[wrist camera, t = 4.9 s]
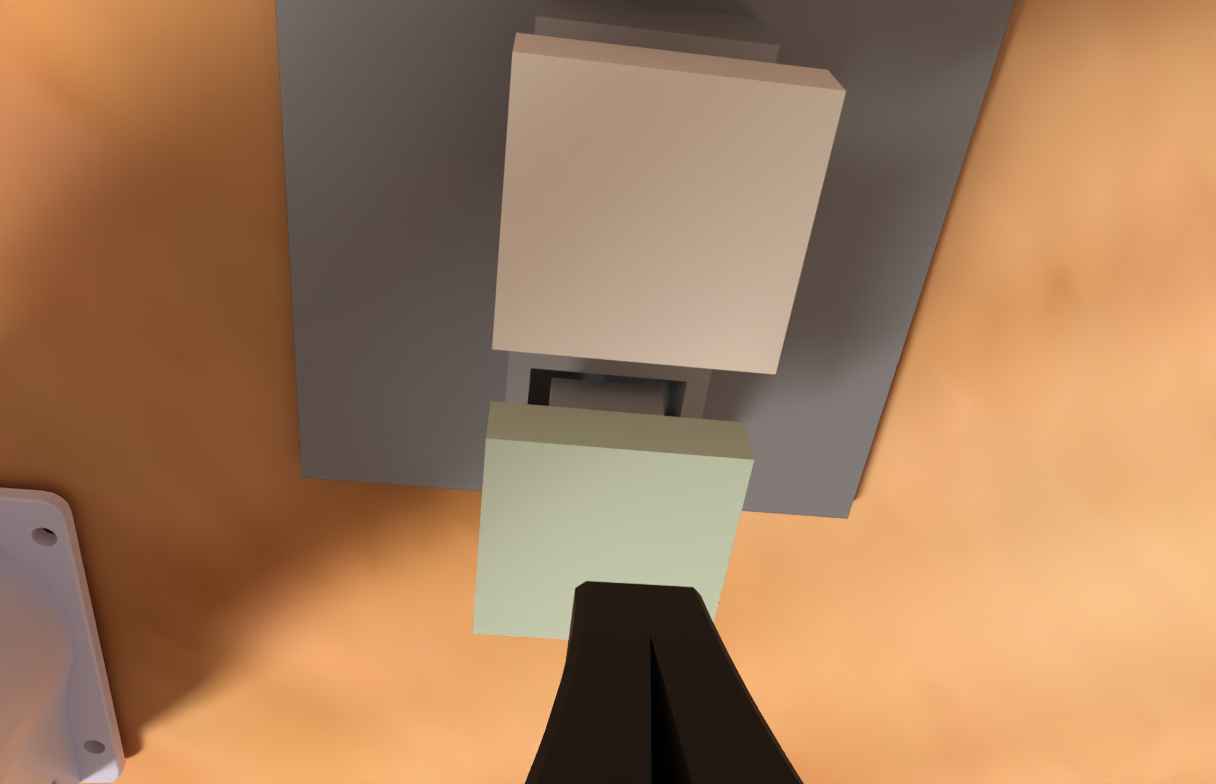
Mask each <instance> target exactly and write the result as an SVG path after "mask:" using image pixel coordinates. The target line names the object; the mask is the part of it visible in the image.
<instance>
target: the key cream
mask: <svg viewBox="0 0 1216 784" xmlns="http://www.w3.org/2000/svg"><path fill="white" fill-rule="evenodd" d="M845 94H846V90H845V89H844V88H843V87H842V86H841V84H840V83H839V82H838V81H837V80H836V79H835V78H834V76H833V75H832V74H831V73H830V72H829V71H828V70H826V69H818V68H809V67H801V66H793V65H784V64H776V63H767V62H759V61H751V60H742V59H734V58H725V57H717V56H709V55H700V54H692V53H684V52H675V51H667V50H658V49H650V48H642V47H633V46H625V45H617V44H608V43H600V42H591V41H583V40H575V39H566V38H558V37H549V36H541V35H533V34H524V33H516V37H515V42H514V47H513V51H512V66H511V80H510V95H509V109H508V124H507V139H506V153H505V168H504V182H503V197H502V212H501V226H500V241H499V255H498V270H497V284H496V299H495V314H494V328H493V343H492V349H494V350H505V351H516V352H527V353H539V354H550V355H561V356H572V357H584V358H595V359H606V360H617V361H629V362H640V363H651V364H662V365H674V366H685V367H696V368H707V369H719V370H730V371H741V372H752V373H764V374H775V375H776V371H777V367H778V363H779V359H780V355H781V351H782V347H783V343H784V339H785V335H786V331H787V327H788V322H789V318H790V314H791V310H792V306H793V302H794V298H795V294H796V290H797V286H798V282H799V278H800V274H801V270H802V266H803V262H804V258H805V254H806V250H807V246H808V242H809V238H810V234H811V230H812V226H813V222H814V218H815V214H816V210H817V206H818V202H819V198H820V194H821V190H822V186H823V182H824V178H825V174H826V170H827V166H828V162H829V158H830V154H831V150H832V146H833V142H834V138H835V134H836V130H837V126H838V122H839V118H840V114H841V110H842V106H843V102H844V98H845Z"/></svg>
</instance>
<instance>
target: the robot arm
mask: <svg viewBox="0 0 1216 784" xmlns="http://www.w3.org/2000/svg"><path fill="white" fill-rule="evenodd" d="M42 528H46V529H49V530H51V531H52V532H54V533H55V534H51V533H48V532H46V531H45V530H43V529H42ZM124 767H125V757H124V753H123V748H122V743H121V739H120V734H119V729H118V725H117V720H116V715H115V711H114V706H113V701H112V697H111V692H110V688H109V683H108V678H107V674H106V669H105V664H104V660H103V655H102V650H101V646H100V641H99V636H98V632H97V627H96V622H95V618H94V613H93V608H92V604H91V599H90V594H89V590H88V585H87V581H86V576H85V571H84V567H83V562H82V557H81V553H80V548H79V543H78V539H77V534H76V529H75V525H74V520H73V515H72V511H71V509H70V506H69V504H68V503H67V502H66V501H65V500H64V499H63V498H62V497H60V496H58V495H56V494H54V493H52V492H47V491H41V490H27V489H13V488H0V784H79V782H91V783H110V782H113V781H115V780H117V779H118V778H119V777H120V776H121V774H122V772H123V769H124ZM525 784H804V783H803V782H802V780H801V779H800V777H799V775H798V774H797V772H796V771H795V769H794V767H793V766H792V764H791V763H790V761H789V760H788V758H787V756H786V755H785V753H784V751H783V750H782V748H781V746H780V745H779V743H778V741H777V739H776V738H775V736H774V734H773V733H772V731H771V729H770V728H769V726H768V724H767V723H766V721H765V719H764V718H763V716H762V714H761V712H760V711H759V709H758V707H757V706H756V704H755V702H754V700H753V698H752V697H751V695H750V693H749V691H748V689H747V688H746V686H745V684H744V682H743V680H742V678H741V676H740V675H739V673H738V671H737V669H736V667H735V665H734V663H733V661H732V659H731V657H730V656H729V654H728V652H727V650H726V648H725V646H724V644H723V642H722V640H721V638H720V636H719V633H718V631H717V629H716V627H715V625H714V623H713V621H712V619H711V617H710V614H709V612H708V610H707V608H706V606H705V603H704V601H703V599H702V596H701V595H700V594H699V593H698V591H697V590H696V589H695V588H694V587H684V586H667V585H649V584H632V583H614V582H597V581H585V582H584V583H582V584H581V585H579V586H577V587H576V588H575V593H574V601H573V609H572V617H571V624H570V632H569V640H568V648H567V656H566V663H565V667H564V671H563V675H562V679H561V682H560V685H559V688H558V692H557V695H556V698H555V701H554V704H553V707H552V711H551V714H550V717H549V720H548V723H547V726H546V730H545V733H544V735H543V738H542V741H541V744H540V746H539V749H538V752H537V754H536V757H535V759H534V762H533V764H532V767H531V769H530V772H529V774H528V777H527V779H526V782H525Z"/></svg>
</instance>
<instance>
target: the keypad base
mask: <svg viewBox="0 0 1216 784" xmlns="http://www.w3.org/2000/svg"><path fill="white" fill-rule="evenodd" d="M1014 3H1015V0H276V18H277V36H278V54H279V73H280V91H281V110H282V128H283V146H284V165H285V183H286V201H287V220H288V238H289V257H290V275H291V293H292V312H293V330H294V348H295V367H296V385H297V403H298V422H299V440H300V459H301V477H302V478H314V479H327V480H340V481H354V482H367V483H380V484H393V485H407V486H420V487H433V488H446V489H460V490H473V491H482V489H483V474H484V460H485V445H486V434H487V426H488V418H489V410H490V402H491V401H494V402H506V403H518V404H530V405H542V406H549V398H550V389H551V379H552V378H563V379H575V380H586V381H598V382H610V383H621V384H633V385H644V386H656V387H660V391H661V397H662V404H663V411H664V416H673V417H685V418H697V419H709V420H721V421H733V422H744V424H745V427H746V431H747V435H748V438H749V442H750V446H751V450H752V453H753V457H754V463H753V467H752V471H751V475H750V479H749V483H748V487H747V491H746V495H745V499H744V503H743V507H742V511H752V512H765V513H778V514H792V515H805V516H818V517H831V518H845V519H848V516H849V513H850V510H851V506H852V503H853V500H854V497H855V494H856V491H857V488H858V485H859V482H860V479H861V476H862V473H863V469H864V466H865V463H866V460H867V457H868V454H869V451H870V448H871V445H872V442H873V439H874V435H875V432H876V429H877V426H878V423H879V420H880V417H881V414H882V411H883V408H884V405H885V402H886V398H887V395H888V392H889V389H890V386H891V383H892V380H893V377H894V374H895V371H896V368H897V365H898V361H899V358H900V355H901V352H902V349H903V346H904V343H905V340H906V337H907V334H908V331H909V327H910V324H911V321H912V318H913V315H914V312H915V309H916V306H917V303H918V300H919V297H920V294H921V290H922V287H923V284H924V281H925V278H926V275H927V272H928V269H929V266H930V263H931V260H932V257H933V253H934V250H935V247H936V244H937V241H938V238H939V235H940V232H941V229H942V226H943V223H944V219H945V216H946V213H947V210H948V207H949V204H950V201H951V198H952V195H953V192H954V189H955V186H956V182H957V179H958V176H959V173H960V170H961V167H962V164H963V161H964V158H965V155H966V152H967V149H968V145H969V142H970V139H971V136H972V133H973V130H974V127H975V124H976V121H977V118H978V115H979V111H980V108H981V105H982V102H983V99H984V96H985V93H986V90H987V87H988V84H989V81H990V78H991V74H992V71H993V68H994V65H995V62H996V59H997V56H998V53H999V50H1000V47H1001V44H1002V41H1003V37H1004V34H1005V31H1006V28H1007V25H1008V22H1009V19H1010V16H1011V13H1012V10H1013V7H1014ZM516 33H524V34H533V35H541V36H549V37H558V38H566V39H575V40H583V41H591V42H600V43H608V44H617V45H625V46H633V47H642V48H650V49H658V50H667V51H675V52H684V53H692V54H700V55H709V56H717V57H725V58H734V59H742V60H751V61H759V62H767V63H776V64H784V65H793V66H801V67H809V68H818V69H826V70H828V71H829V72H830V73H831V74H832V75H833V76H834V78H835V79H836V80H837V81H838V82H839V83H840V84H841V86H842V87H843V88H844V89H845V90H846V94H845V98H844V102H843V106H842V110H841V114H840V118H839V122H838V126H837V130H836V134H835V138H834V142H833V146H832V150H831V154H830V158H829V162H828V166H827V170H826V174H825V178H824V182H823V186H822V190H821V194H820V198H819V202H818V206H817V210H816V214H815V218H814V222H813V226H812V230H811V234H810V238H809V242H808V246H807V250H806V254H805V258H804V262H803V266H802V270H801V274H800V278H799V282H798V286H797V290H796V294H795V298H794V302H793V306H792V310H791V314H790V318H789V322H788V327H787V331H786V335H785V339H784V343H783V347H782V351H781V355H780V359H779V363H778V367H777V371H776V375H775V374H764V373H752V372H741V371H730V370H719V369H707V368H696V367H685V366H674V365H662V364H651V363H640V362H629V361H617V360H606V359H595V358H584V357H572V356H561V355H550V354H539V353H527V352H516V351H505V350H494V349H492V343H493V328H494V314H495V299H496V284H497V270H498V255H499V241H500V226H501V212H502V197H503V182H504V168H505V153H506V139H507V124H508V109H509V95H510V80H511V66H512V51H513V47H514V42H515V37H516Z"/></svg>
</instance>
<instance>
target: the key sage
mask: <svg viewBox="0 0 1216 784" xmlns="http://www.w3.org/2000/svg"><path fill="white" fill-rule="evenodd" d="M753 463H754V457H753V453H752V450H751V446H750V442H749V438H748V435H747V431H746V427H745V424H744V422H733V421H721V420H709V419H697V418H685V417H673V416H664V411H663V404H662V397H661V391H660V387H656V386H644V385H633V384H621V383H610V382H598V381H586V380H575V379H563V378H552V379H551V389H550V398H549V406H542V405H530V404H518V403H506V402H494V401H491V402H490V410H489V418H488V426H487V434H486V445H485V460H484V474H483V489H482V503H481V518H480V533H479V547H478V562H477V576H476V591H475V605H474V620H473V634H488V635H504V636H521V637H537V638H553V639H569V632H570V624H571V617H572V609H573V601H574V593H575V588H576V587H577V586H579V585H581V584H582V583H584V582H585V581H597V582H614V583H632V584H649V585H667V586H684V587H694V588H695V589H696V590H697V591H698V593H699V594H700V595H701V596H702V599H703V601H704V603H705V606H706V608H707V610H708V612H709V614H710V617H711V619H712V621H713V623H714V620H715V616H716V612H717V608H718V604H719V600H720V596H721V592H722V588H723V584H724V580H725V576H726V572H727V567H728V563H729V559H730V555H731V551H732V547H733V543H734V539H735V535H736V531H737V527H738V523H739V519H740V515H741V511H742V507H743V503H744V499H745V495H746V491H747V487H748V483H749V479H750V475H751V471H752V467H753Z"/></svg>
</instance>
